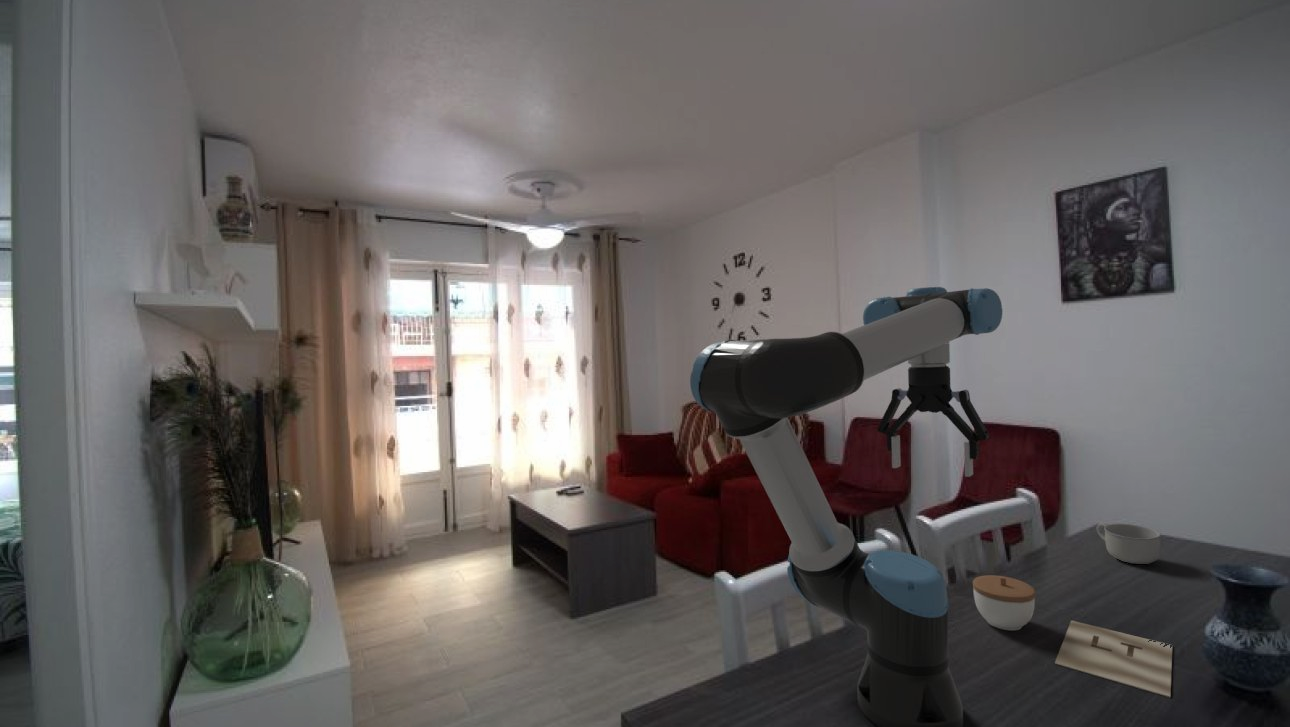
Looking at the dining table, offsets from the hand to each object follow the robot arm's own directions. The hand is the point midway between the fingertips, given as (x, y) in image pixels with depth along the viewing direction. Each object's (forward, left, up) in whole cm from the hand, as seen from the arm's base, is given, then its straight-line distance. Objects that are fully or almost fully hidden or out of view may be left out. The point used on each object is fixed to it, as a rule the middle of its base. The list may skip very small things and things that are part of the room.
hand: (931, 471), depth 114 cm
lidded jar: (+10, -10, -32) cm, 35 cm away
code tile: (+9, -28, -32) cm, 43 cm away
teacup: (+67, -26, -32) cm, 78 cm away
